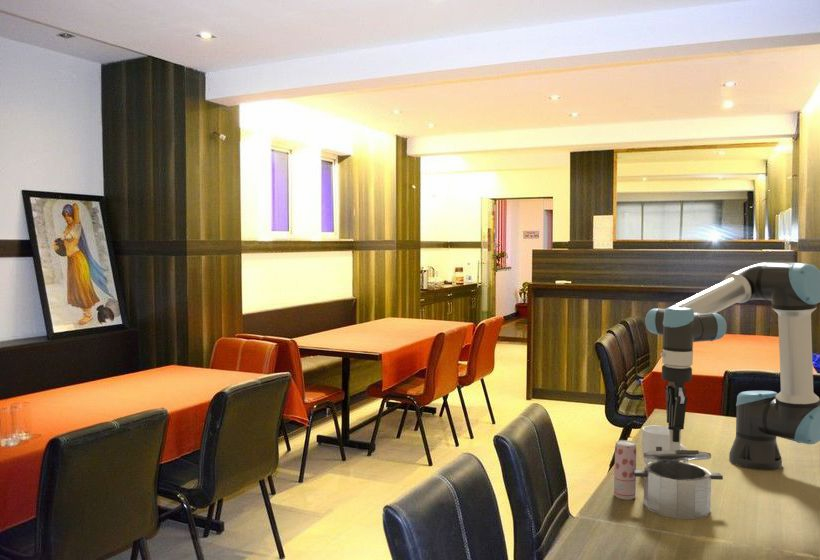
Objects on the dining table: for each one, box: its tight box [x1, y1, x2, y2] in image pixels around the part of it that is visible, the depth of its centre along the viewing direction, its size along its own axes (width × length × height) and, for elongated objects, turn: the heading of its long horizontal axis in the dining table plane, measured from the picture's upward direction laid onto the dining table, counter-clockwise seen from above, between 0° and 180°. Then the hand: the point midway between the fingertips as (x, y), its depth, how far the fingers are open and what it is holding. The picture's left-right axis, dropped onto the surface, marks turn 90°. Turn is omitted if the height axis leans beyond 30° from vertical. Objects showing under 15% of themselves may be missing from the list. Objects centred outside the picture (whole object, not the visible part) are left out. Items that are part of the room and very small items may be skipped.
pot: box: [633, 461, 724, 520], centre depth 185 cm, size 22×16×10 cm
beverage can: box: [613, 439, 637, 501], centre depth 193 cm, size 6×6×15 cm
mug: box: [641, 424, 689, 466], centre depth 213 cm, size 15×11×13 cm
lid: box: [643, 447, 712, 462], centre depth 185 cm, size 17×20×3 cm
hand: (674, 452), depth 187 cm, fingers closed
